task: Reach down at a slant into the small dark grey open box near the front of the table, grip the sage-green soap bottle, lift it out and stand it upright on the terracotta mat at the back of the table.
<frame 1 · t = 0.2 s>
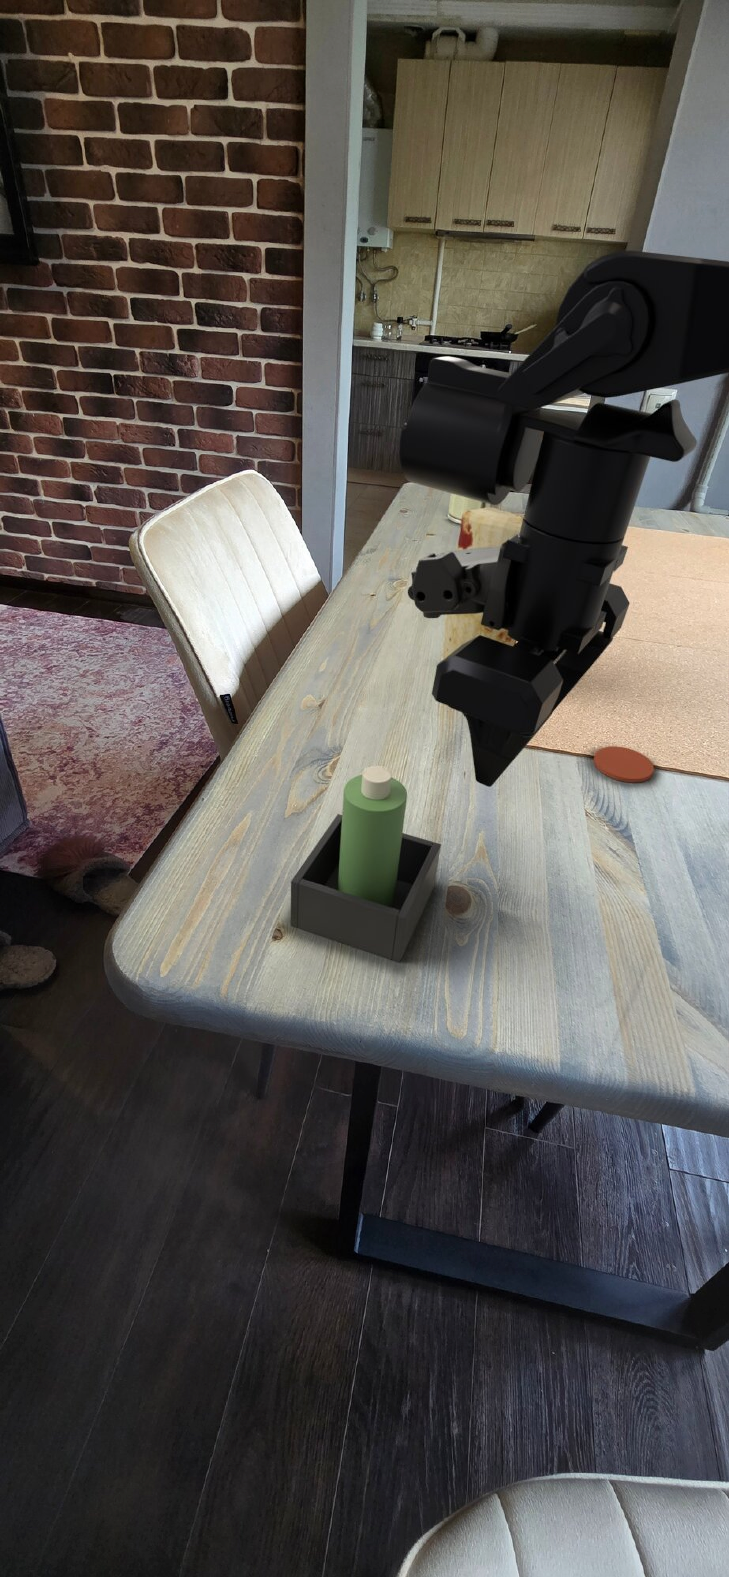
hand: (510, 752, 51), 14 cm above the table, tool pointing down, fingers open, 9 cm apart
soap bottle: (365, 904, 57), resting on dark grey open box
mat: (622, 766, 77), on the table
coffee can: (472, 520, 146), on the table
food model: (473, 677, 91), on the table
dark grey open box: (364, 907, 58), on the table
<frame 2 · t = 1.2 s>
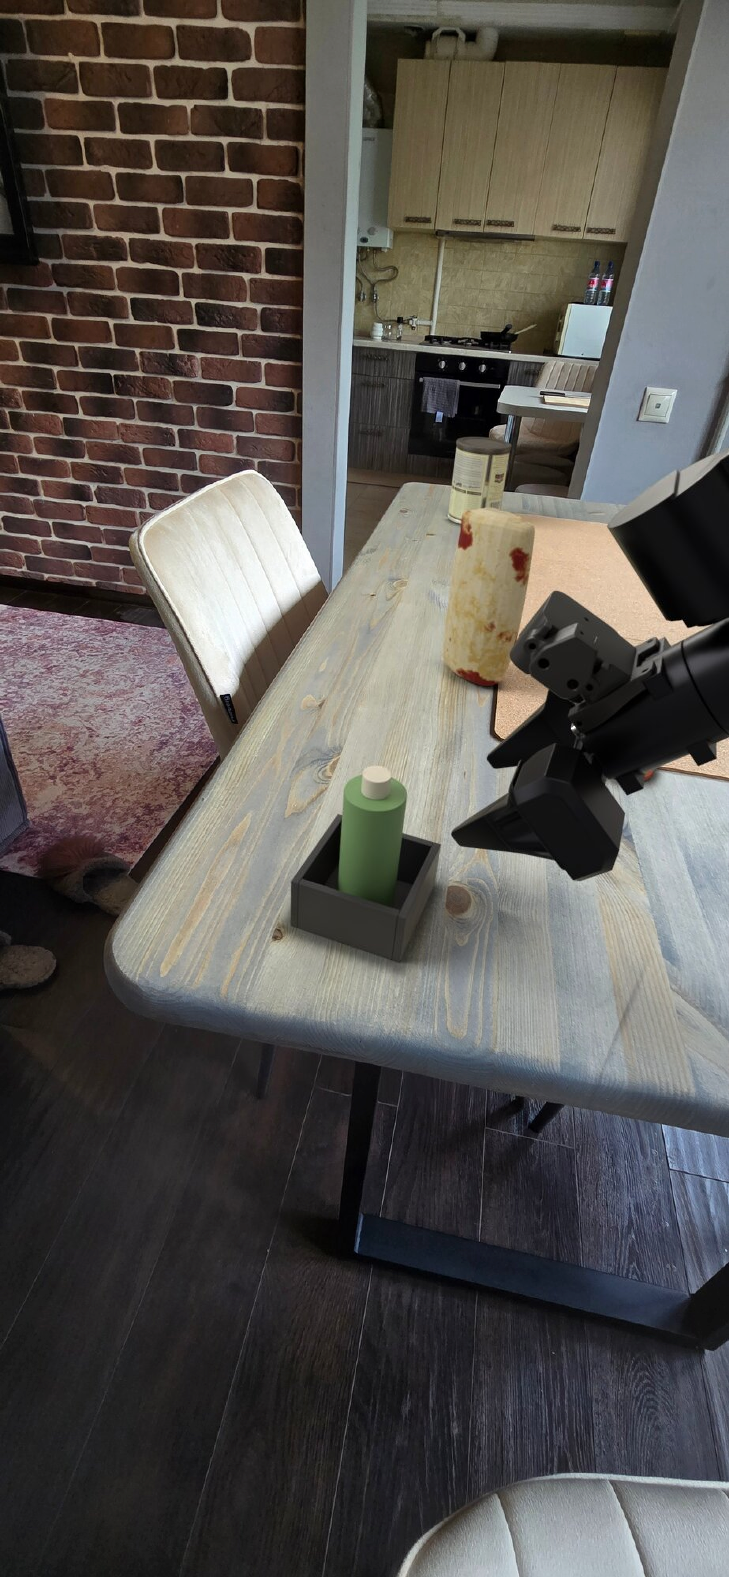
hand: (474, 797, 48), 13 cm above the table, tool tilted 45°, fingers open, 9 cm apart
nothing on the table moved.
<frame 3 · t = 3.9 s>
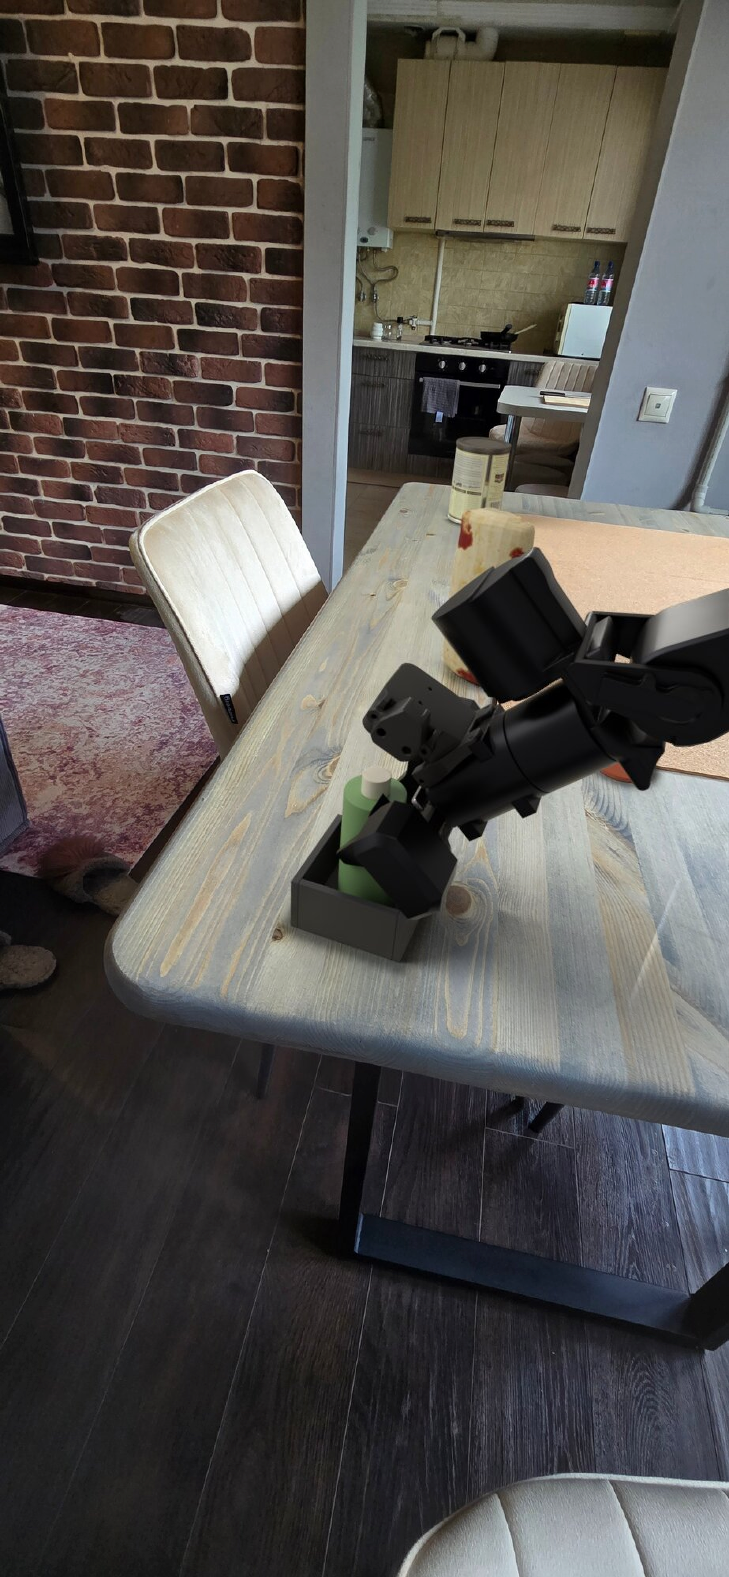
hand: (353, 838, 54), 7 cm above the table, tool tilted 45°, fingers closed on soap bottle, 4 cm apart
soap bottle: (364, 905, 57), resting on dark grey open box, touching gripper
everything else where it was.
when the fingers open (7 cm above the table, at t = 14.5 s): soap bottle stays where it is, resting on mat.
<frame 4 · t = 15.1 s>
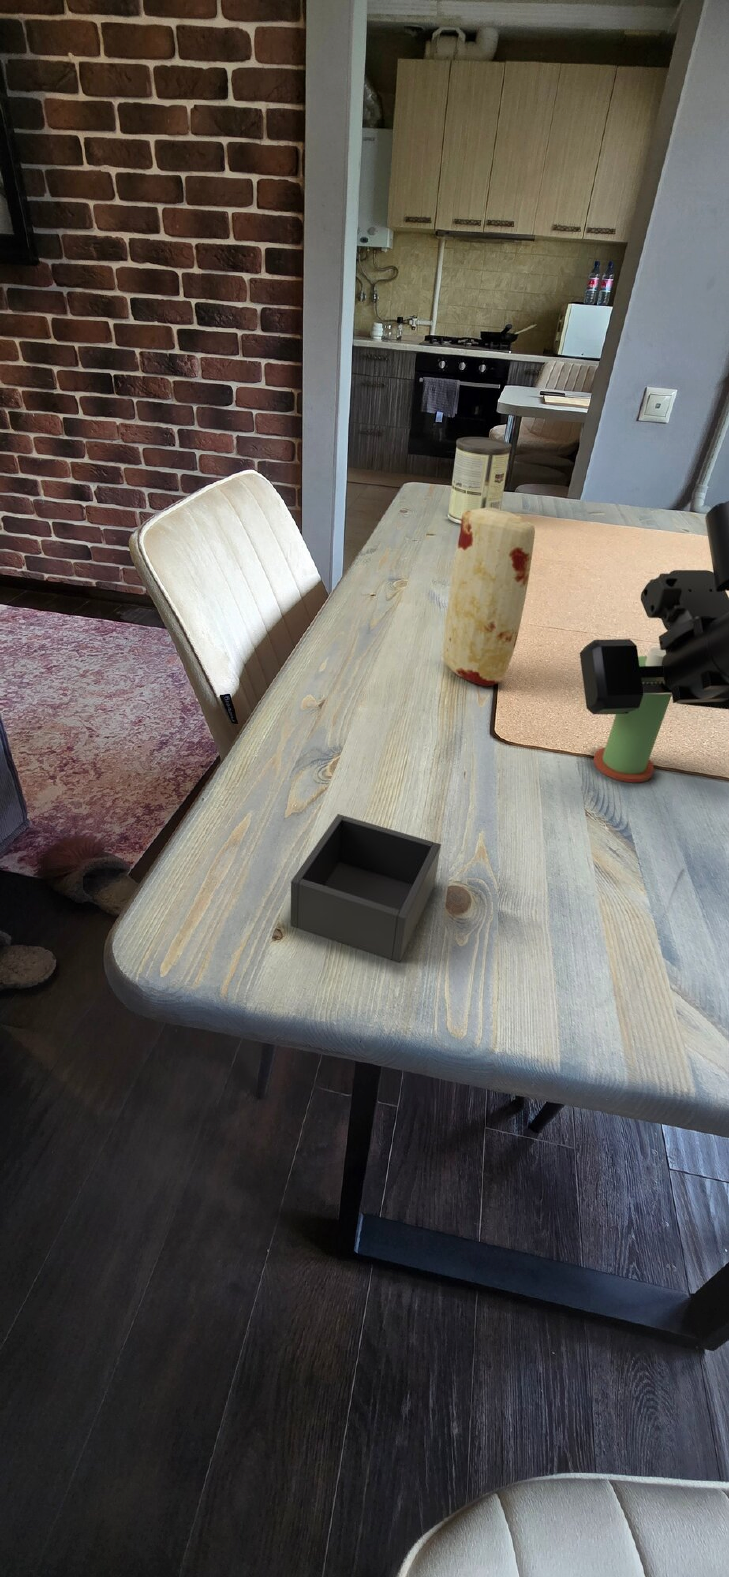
hand: (635, 699, 74), 7 cm above the table, tool tilted 45°, fingers open, 9 cm apart
soap bottle: (624, 762, 76), resting on mat
everything else where it was.
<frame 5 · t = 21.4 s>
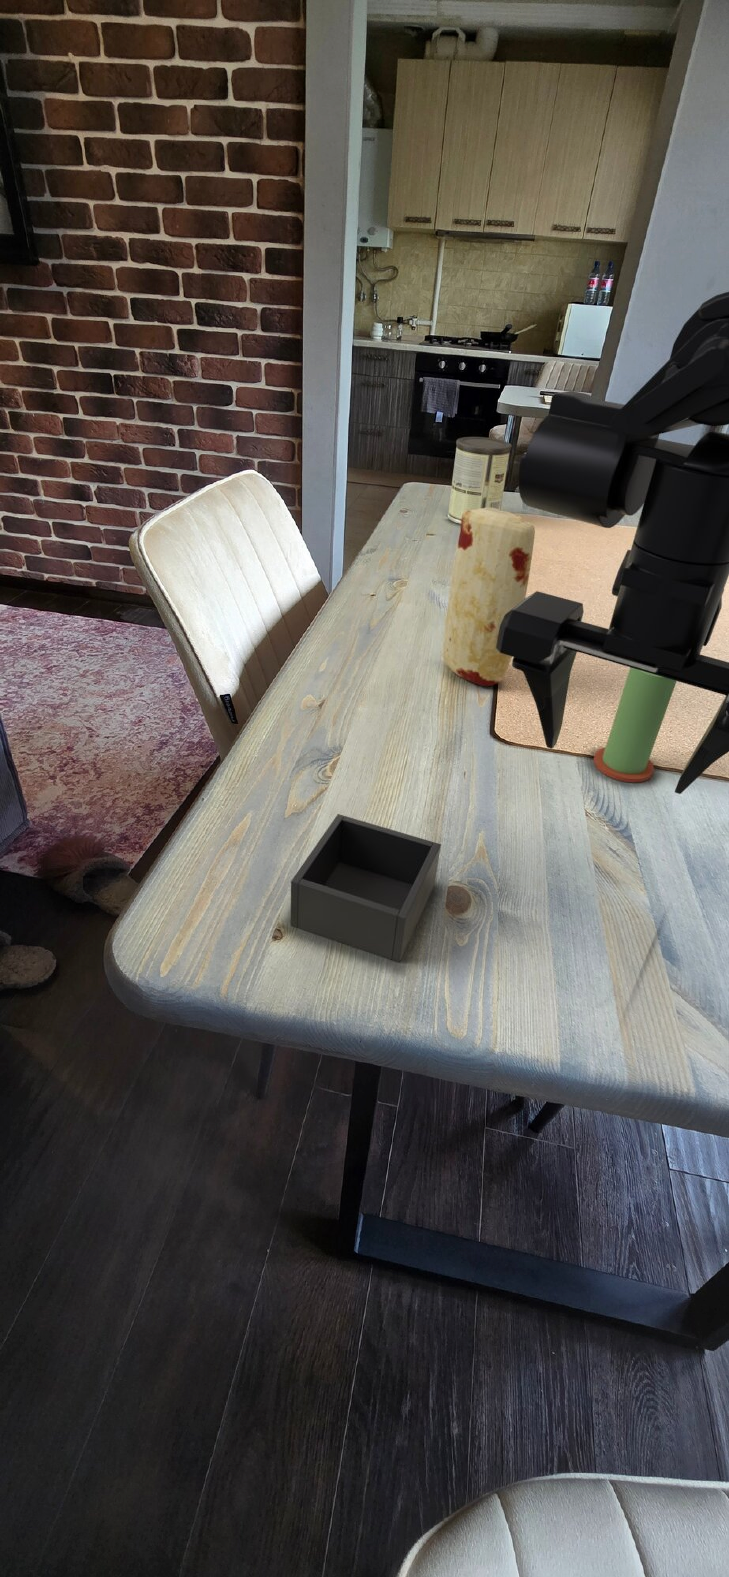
hand: (612, 767, 52), 13 cm above the table, tool pointing down, fingers open, 9 cm apart
nothing on the table moved.
at the end: soap bottle 0.0 cm off-centre on the mat, point 0.5 cm above the mat's base; soap bottle tilted 0°; the gripper is holding nothing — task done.
